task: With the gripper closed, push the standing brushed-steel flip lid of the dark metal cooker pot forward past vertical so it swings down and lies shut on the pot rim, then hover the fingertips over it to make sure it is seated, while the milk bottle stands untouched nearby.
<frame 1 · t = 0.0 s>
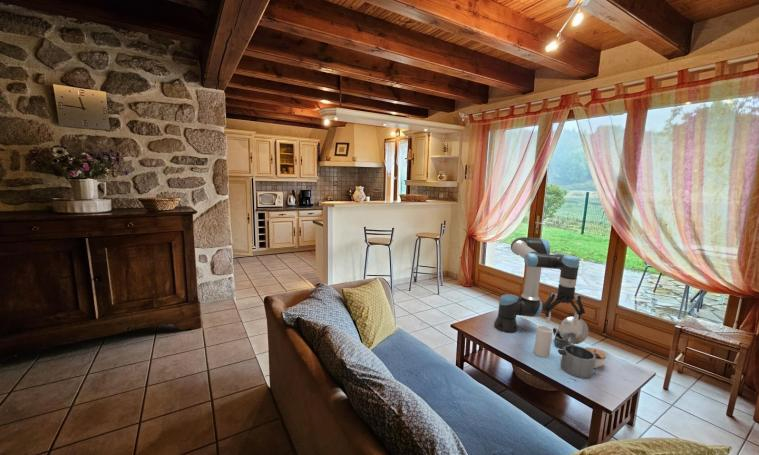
hand: (561, 323, 169), 28 cm above the table, fingers open, 13 cm apart
lidded jar: (592, 365, 183), on the table
cup: (541, 353, 192), on the table
mug: (559, 345, 203), on the table
lid: (573, 328, 183), point 20 cm above the table, hinge at 100.0°
pot: (576, 369, 177), on the table
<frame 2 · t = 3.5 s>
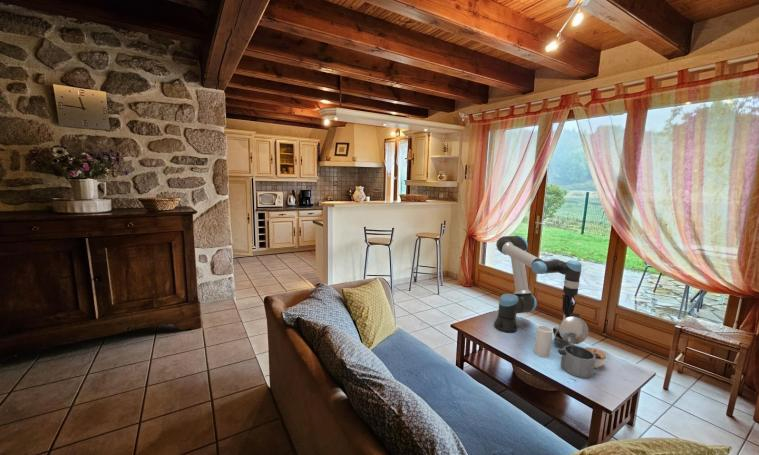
hand: (565, 324, 194), 17 cm above the table, fingers closed
nothing on the table moved.
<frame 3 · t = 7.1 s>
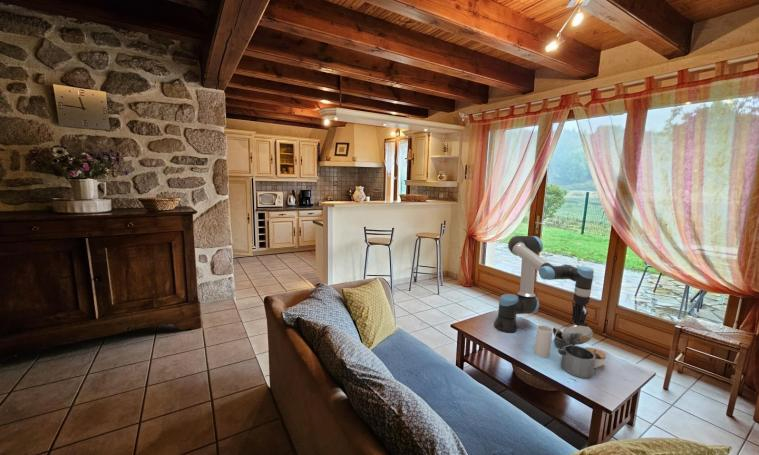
hand: (575, 334, 181), 17 cm above the table, fingers closed
lid: (577, 333, 179), point 19 cm above the table, hinge at 66.5°, touching gripper
everything else where it was.
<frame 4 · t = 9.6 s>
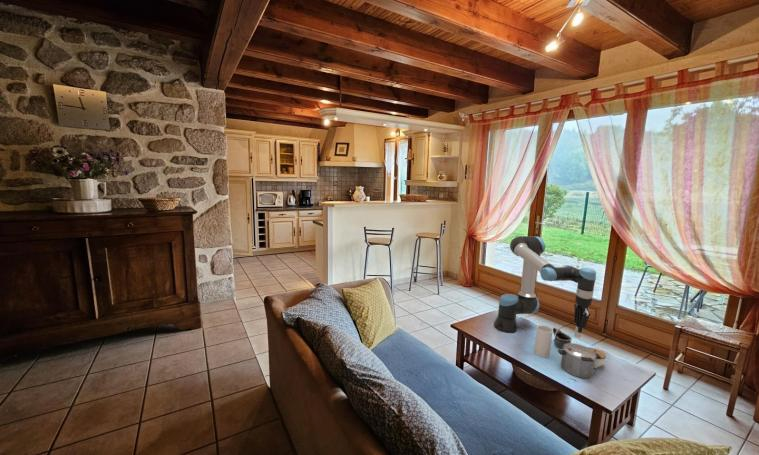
hand: (577, 336, 178), 17 cm above the table, fingers closed
lid: (580, 351, 174), point 11 cm above the table, hinge at 0.0°, touching pot
everything else where it was.
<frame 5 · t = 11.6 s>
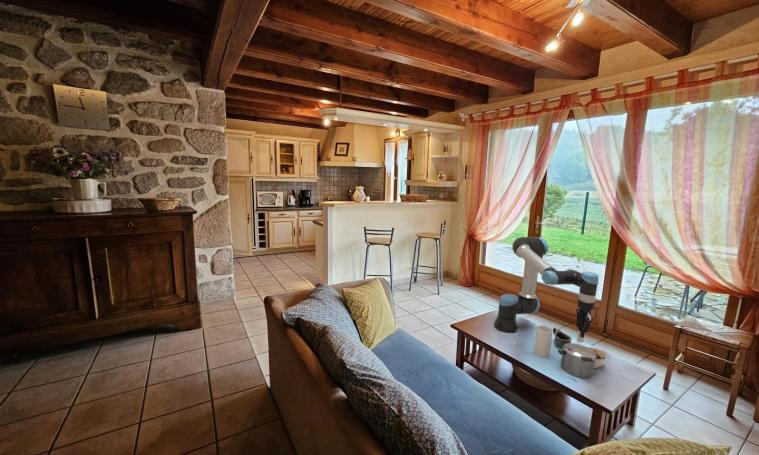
hand: (579, 341, 176), 16 cm above the table, fingers closed
nothing on the table moved.
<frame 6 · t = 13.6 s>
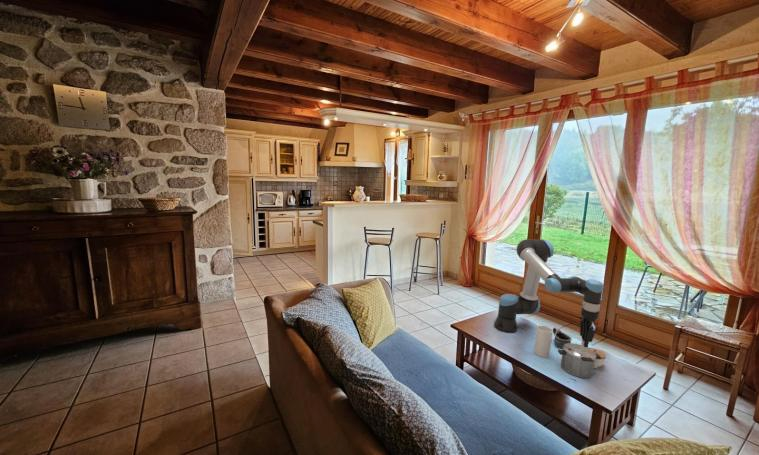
hand: (583, 351, 171), 13 cm above the table, fingers closed
nothing on the table moved.
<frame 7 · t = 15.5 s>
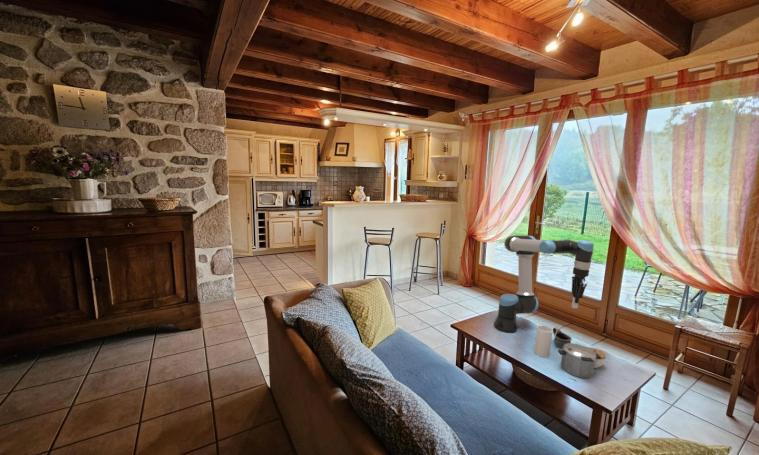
hand: (574, 307, 184), 31 cm above the table, fingers closed
nothing on the table moved.
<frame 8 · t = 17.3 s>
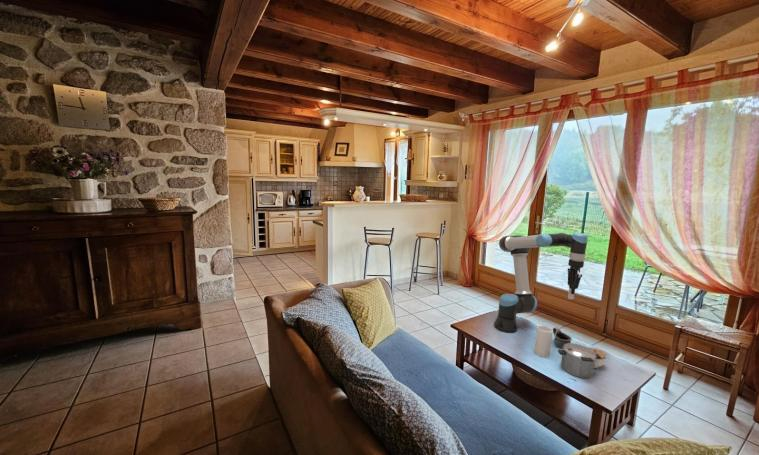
hand: (570, 298, 189), 34 cm above the table, fingers closed
nothing on the table moved.
at the end: lid at +0° (first picture: +100°) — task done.
